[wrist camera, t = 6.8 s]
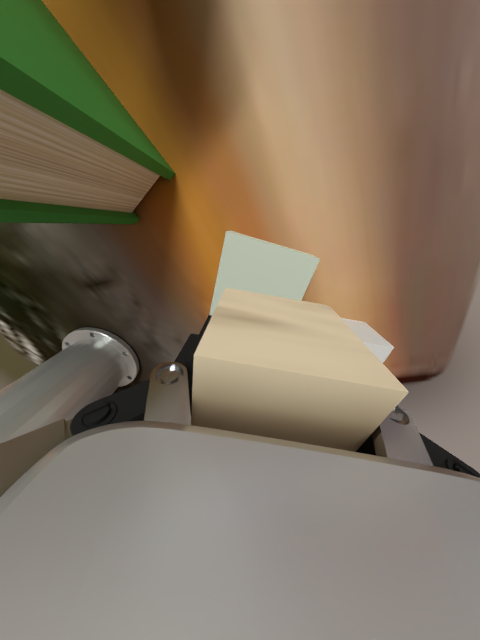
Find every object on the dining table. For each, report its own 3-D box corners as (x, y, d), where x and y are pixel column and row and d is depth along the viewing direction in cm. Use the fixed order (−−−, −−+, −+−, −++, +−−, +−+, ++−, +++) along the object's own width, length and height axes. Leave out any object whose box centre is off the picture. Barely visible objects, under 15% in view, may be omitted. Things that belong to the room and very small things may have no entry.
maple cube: (296, 379, 13) (325, 485, 8) (215, 366, 13) (189, 462, 8) (329, 305, 10) (409, 392, 5) (225, 287, 10) (193, 355, 5)
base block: (280, 322, 27) (284, 337, 23) (214, 304, 26) (208, 317, 22) (309, 253, 22) (320, 259, 18) (230, 230, 21) (226, 231, 18)
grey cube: (346, 354, 28) (367, 384, 23) (309, 348, 28) (321, 376, 23) (364, 321, 25) (394, 347, 20) (323, 314, 25) (342, 338, 20)
